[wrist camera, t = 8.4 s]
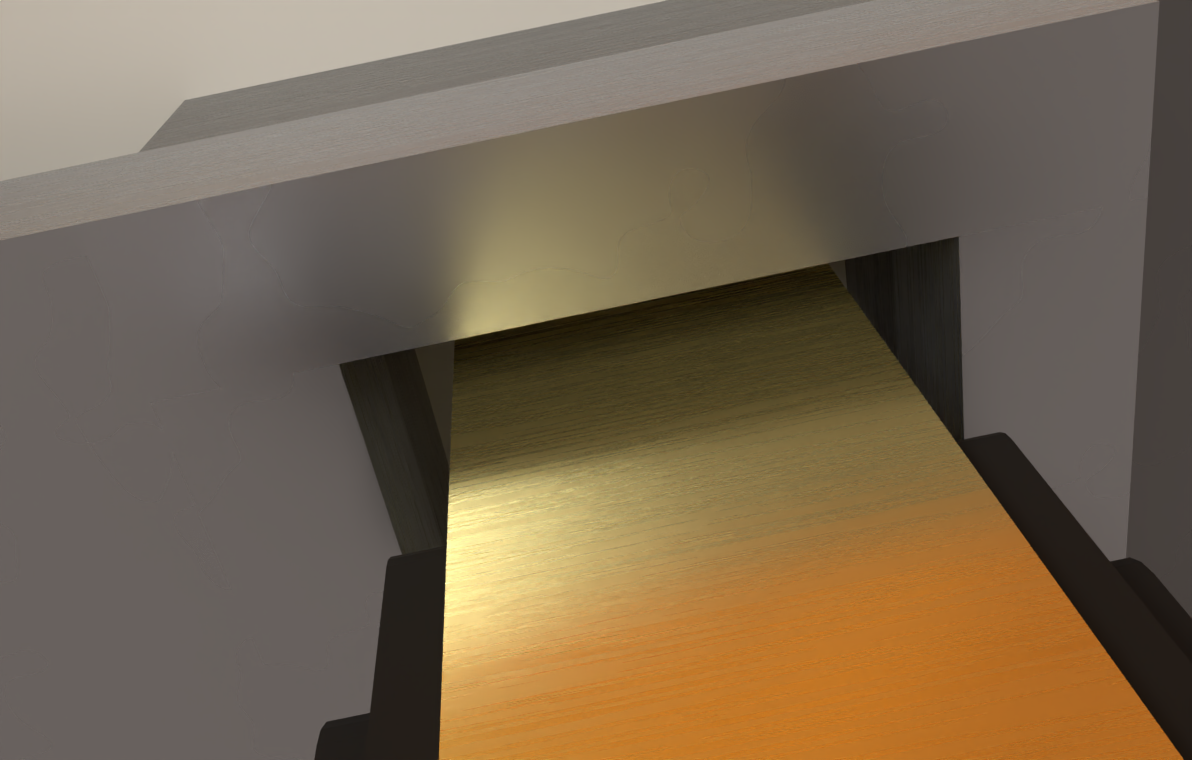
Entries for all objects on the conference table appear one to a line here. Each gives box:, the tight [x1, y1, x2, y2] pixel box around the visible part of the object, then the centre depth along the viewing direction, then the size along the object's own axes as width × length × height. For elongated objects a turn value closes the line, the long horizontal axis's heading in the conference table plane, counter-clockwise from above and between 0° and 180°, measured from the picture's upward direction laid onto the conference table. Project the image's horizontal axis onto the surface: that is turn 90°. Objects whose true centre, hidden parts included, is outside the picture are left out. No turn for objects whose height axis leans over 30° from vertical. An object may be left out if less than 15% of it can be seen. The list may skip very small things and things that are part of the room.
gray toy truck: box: [0, 0, 1192, 760], centre depth 13 cm, size 28×10×4 cm, turn 100°
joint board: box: [0, 0, 847, 468], centre depth 15 cm, size 29×13×1 cm, turn 100°
